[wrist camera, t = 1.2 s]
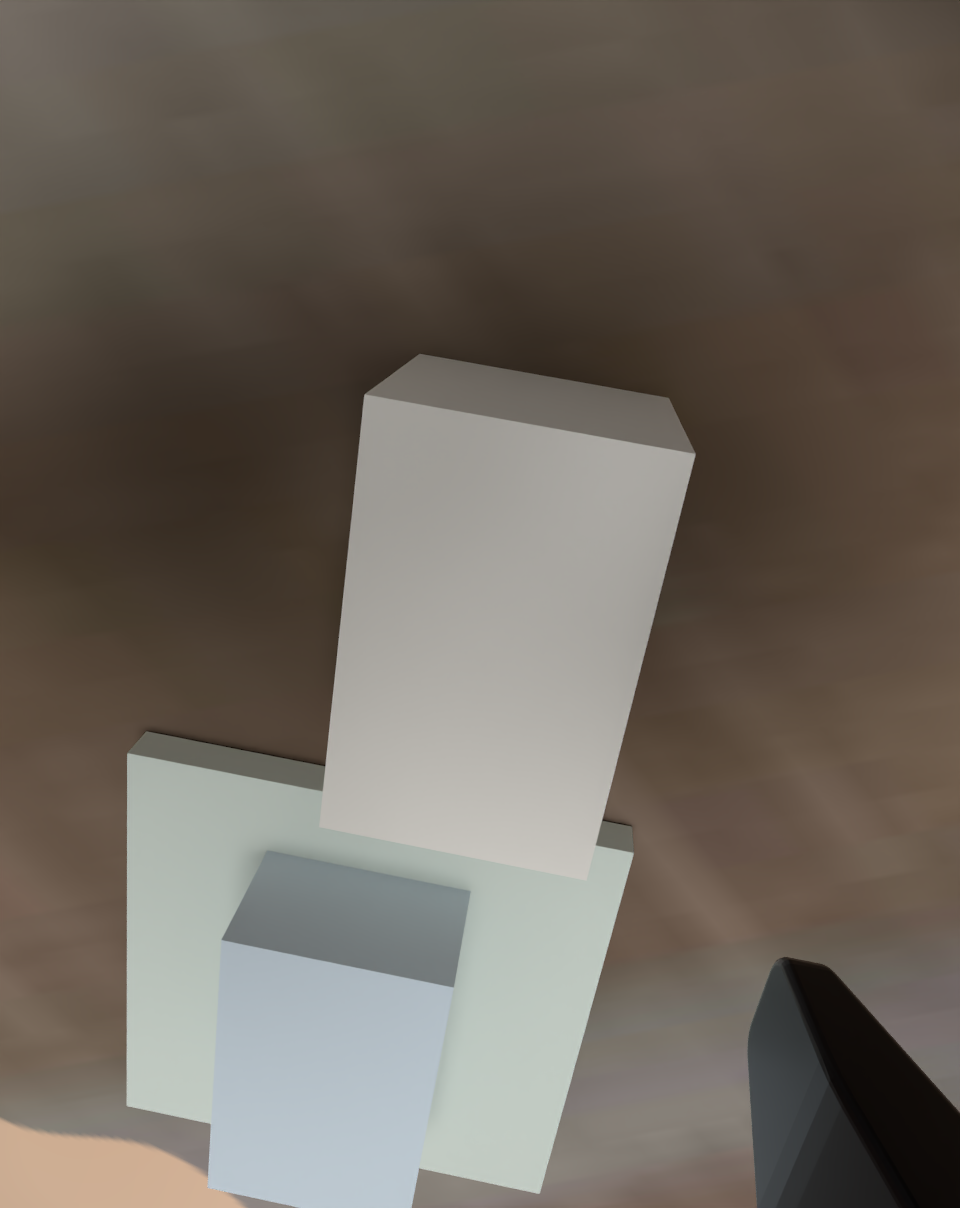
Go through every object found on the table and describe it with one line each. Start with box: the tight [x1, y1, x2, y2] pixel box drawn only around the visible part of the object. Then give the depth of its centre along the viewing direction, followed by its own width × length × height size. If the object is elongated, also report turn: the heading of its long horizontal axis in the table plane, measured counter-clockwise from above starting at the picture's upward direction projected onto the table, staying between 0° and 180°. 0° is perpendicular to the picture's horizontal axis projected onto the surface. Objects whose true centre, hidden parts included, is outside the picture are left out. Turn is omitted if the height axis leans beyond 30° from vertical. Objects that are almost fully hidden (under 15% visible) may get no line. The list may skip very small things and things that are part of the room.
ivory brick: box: [319, 354, 696, 881], centre depth 17 cm, size 5×8×5 cm, turn 171°
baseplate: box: [127, 731, 634, 1208], centre depth 22 cm, size 12×12×4 cm
